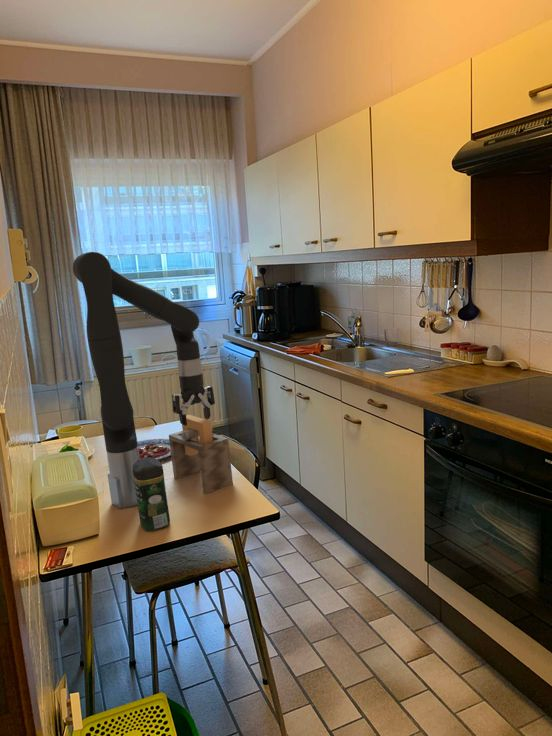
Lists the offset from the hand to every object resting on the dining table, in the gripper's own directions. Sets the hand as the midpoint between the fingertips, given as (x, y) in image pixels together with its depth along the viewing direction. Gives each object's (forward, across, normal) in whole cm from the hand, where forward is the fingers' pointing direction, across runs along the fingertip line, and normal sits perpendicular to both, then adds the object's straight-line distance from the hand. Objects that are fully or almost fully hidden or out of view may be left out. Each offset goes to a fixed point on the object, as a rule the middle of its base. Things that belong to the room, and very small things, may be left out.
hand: (196, 421), depth 181 cm
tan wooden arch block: (+12, 0, 0) cm, 12 cm away
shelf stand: (+20, 0, 0) cm, 20 cm away
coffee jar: (+20, -26, -16) cm, 37 cm away
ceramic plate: (+20, 0, +39) cm, 44 cm away
